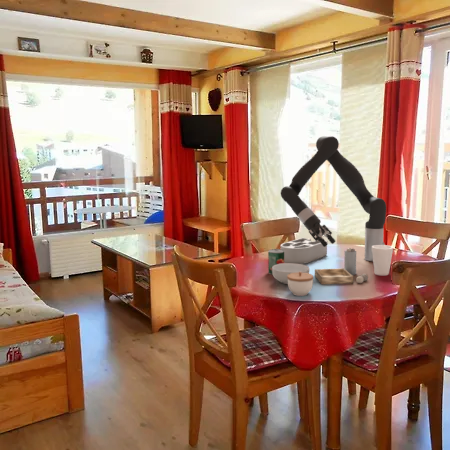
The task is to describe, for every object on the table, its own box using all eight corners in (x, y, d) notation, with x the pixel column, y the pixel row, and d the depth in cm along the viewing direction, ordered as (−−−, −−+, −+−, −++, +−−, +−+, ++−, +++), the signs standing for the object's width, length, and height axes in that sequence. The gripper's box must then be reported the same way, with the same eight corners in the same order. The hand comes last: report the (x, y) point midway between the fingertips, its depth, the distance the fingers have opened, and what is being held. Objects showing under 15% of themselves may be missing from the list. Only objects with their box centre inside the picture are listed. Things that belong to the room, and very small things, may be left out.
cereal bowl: (300, 289, 202) (300, 273, 201) (265, 284, 211) (265, 269, 210) (315, 280, 216) (315, 265, 215) (282, 275, 225) (281, 261, 224)
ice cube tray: (327, 255, 264) (327, 240, 262) (301, 266, 243) (301, 249, 241) (301, 252, 274) (301, 237, 273) (274, 261, 253) (274, 246, 252)
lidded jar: (284, 290, 201) (284, 269, 200) (309, 289, 202) (309, 268, 201) (290, 298, 191) (290, 275, 189) (316, 296, 192) (316, 274, 190)
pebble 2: (366, 279, 214) (366, 273, 214) (368, 281, 211) (369, 274, 210) (359, 280, 214) (359, 273, 213) (361, 282, 211) (362, 275, 210)
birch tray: (344, 274, 223) (344, 268, 223) (353, 283, 209) (353, 276, 209) (314, 275, 223) (314, 269, 222) (321, 284, 209) (321, 277, 208)
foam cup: (392, 271, 226) (392, 245, 224) (392, 276, 218) (393, 249, 216) (371, 270, 230) (372, 244, 228) (370, 275, 221) (371, 248, 219)
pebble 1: (362, 281, 211) (362, 275, 211) (364, 283, 208) (364, 276, 207) (355, 282, 211) (355, 275, 210) (357, 284, 208) (357, 277, 207)
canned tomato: (283, 275, 225) (283, 252, 224) (267, 274, 227) (267, 252, 225) (285, 270, 233) (285, 249, 231) (269, 270, 235) (269, 248, 233)
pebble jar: (354, 272, 228) (354, 246, 226) (357, 275, 222) (357, 248, 220) (342, 272, 228) (343, 247, 226) (346, 275, 222) (346, 249, 220)
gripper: (306, 215, 224) (328, 241, 219) (320, 212, 236) (341, 237, 230) (297, 225, 229) (318, 251, 223) (311, 221, 240) (331, 246, 234)
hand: (330, 244), depth 227 cm, fingers open, 8 cm apart
